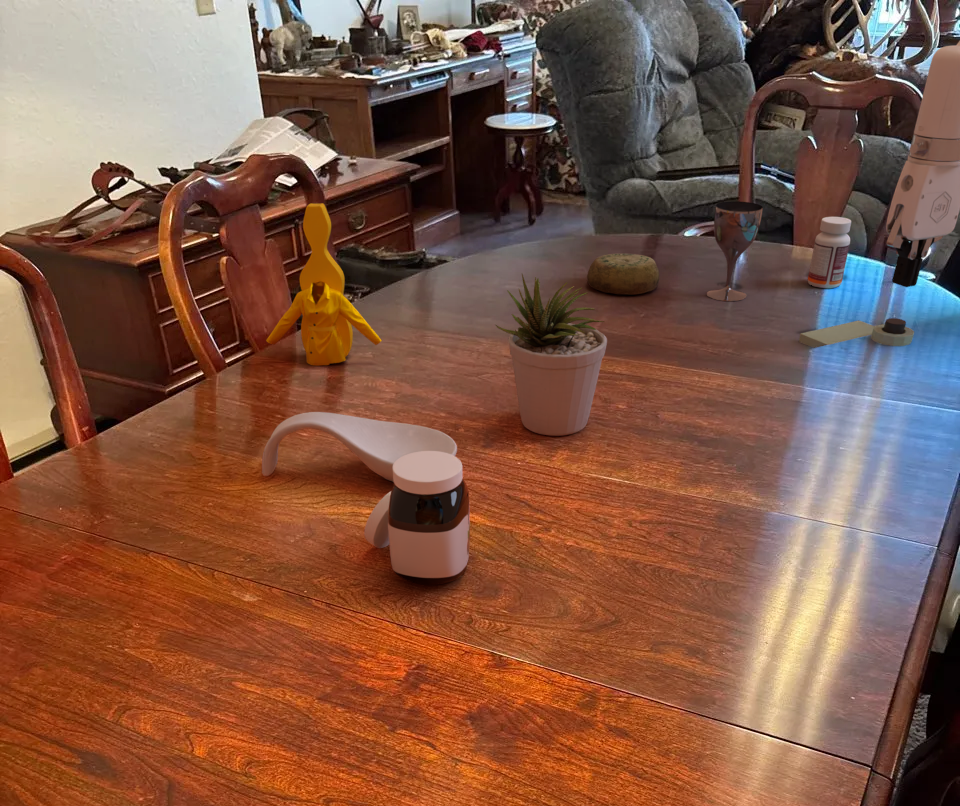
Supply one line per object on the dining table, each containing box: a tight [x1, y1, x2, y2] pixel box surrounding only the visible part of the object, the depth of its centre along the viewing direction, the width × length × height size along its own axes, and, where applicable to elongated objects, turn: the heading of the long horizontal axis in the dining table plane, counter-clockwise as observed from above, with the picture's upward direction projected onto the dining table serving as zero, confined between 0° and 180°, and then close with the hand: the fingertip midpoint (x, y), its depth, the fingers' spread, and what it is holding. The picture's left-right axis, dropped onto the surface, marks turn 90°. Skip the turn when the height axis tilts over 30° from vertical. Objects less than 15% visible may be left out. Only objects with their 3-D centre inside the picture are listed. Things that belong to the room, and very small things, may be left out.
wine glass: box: [706, 200, 764, 302], centre depth 169 cm, size 8×8×15 cm
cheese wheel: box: [586, 253, 660, 296], centre depth 177 cm, size 14×13×5 cm
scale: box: [798, 320, 915, 349], centre depth 150 cm, size 13×12×3 cm
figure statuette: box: [265, 202, 383, 367], centre depth 142 cm, size 18×8×22 cm, turn 87°
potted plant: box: [495, 273, 608, 437], centre depth 123 cm, size 13×14×20 cm
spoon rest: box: [261, 411, 458, 483], centre depth 115 cm, size 24×12×7 cm, turn 89°
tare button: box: [883, 317, 907, 334], centre depth 148 cm, size 3×3×2 cm
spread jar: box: [363, 451, 471, 586], centre depth 97 cm, size 12×11×12 cm
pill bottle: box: [807, 216, 852, 289], centre depth 175 cm, size 6×6×11 cm
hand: (903, 284), depth 144 cm, fingers closed
